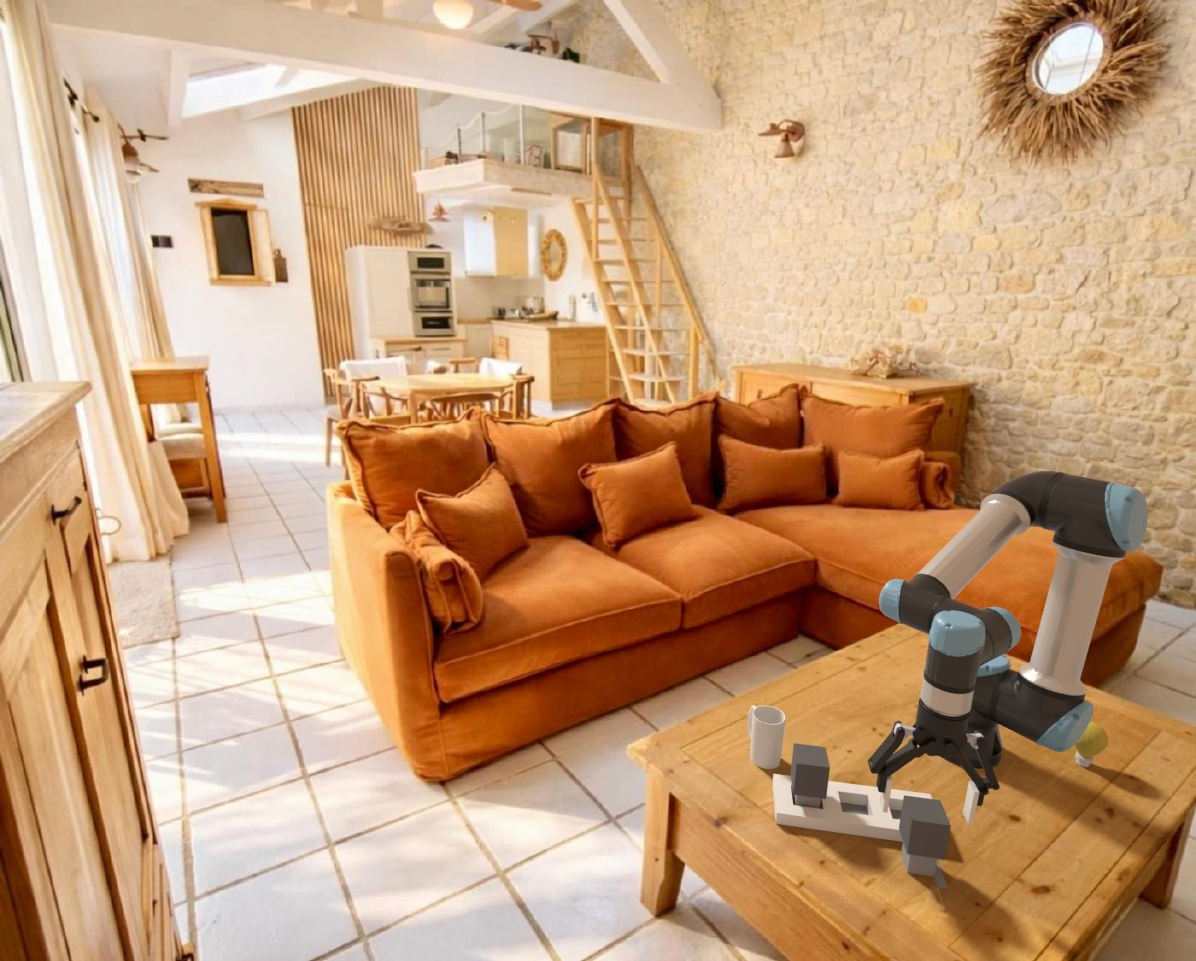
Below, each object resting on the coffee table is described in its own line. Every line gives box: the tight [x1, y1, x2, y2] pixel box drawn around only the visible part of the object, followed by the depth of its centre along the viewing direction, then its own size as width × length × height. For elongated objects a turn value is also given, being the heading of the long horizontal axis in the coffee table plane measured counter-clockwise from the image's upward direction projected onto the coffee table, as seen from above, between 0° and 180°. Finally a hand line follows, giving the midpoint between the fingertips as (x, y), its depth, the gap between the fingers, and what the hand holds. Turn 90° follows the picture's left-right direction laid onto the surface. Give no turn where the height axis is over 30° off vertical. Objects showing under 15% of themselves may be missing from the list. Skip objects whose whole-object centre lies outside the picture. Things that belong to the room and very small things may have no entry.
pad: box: [933, 859, 949, 890], centre depth 121 cm, size 8×8×1 cm
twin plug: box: [790, 743, 831, 809], centre depth 132 cm, size 6×6×12 cm
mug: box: [747, 704, 786, 770], centre depth 147 cm, size 10×7×12 cm, turn 23°
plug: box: [899, 795, 952, 879], centre depth 119 cm, size 6×6×12 cm
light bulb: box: [1073, 720, 1109, 768], centre depth 147 cm, size 7×7×10 cm
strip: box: [771, 773, 933, 843], centre depth 132 cm, size 30×11×4 cm, turn 80°
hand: (925, 813), depth 117 cm, fingers open, 13 cm apart
